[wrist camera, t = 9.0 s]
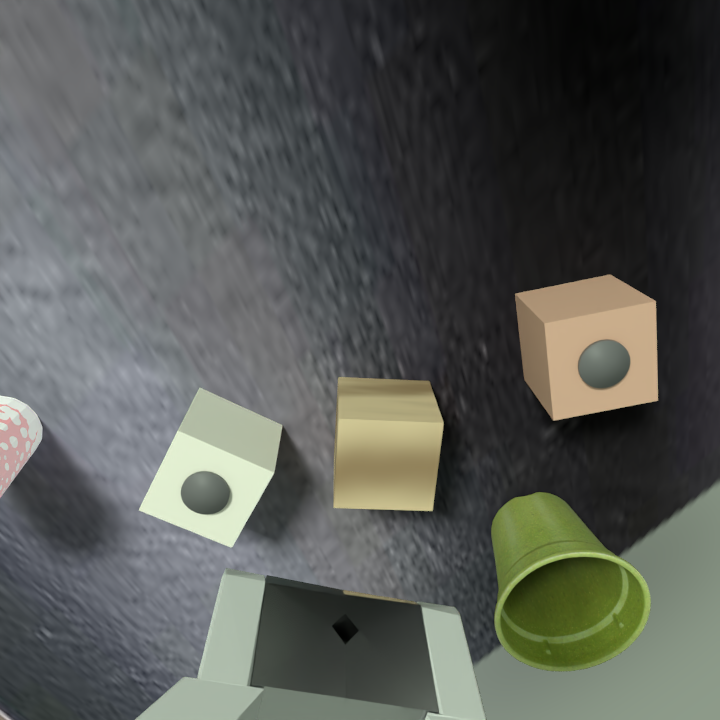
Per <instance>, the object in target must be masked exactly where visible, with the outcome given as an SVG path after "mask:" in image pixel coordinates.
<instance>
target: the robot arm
mask: <svg viewBox="0 0 720 720" xmlns="http://www.w3.org/2000/svg"><path fill="white" fill-rule="evenodd" d="M135 720H487V719H486V715H485V711H484V707H483V703H482V699H481V695H480V691H479V687H478V684H477V680H476V676H475V672H474V668H473V664H472V660H471V656H470V652H469V648H468V644H467V640H466V636H465V632H464V628H463V624H462V621H461V617H460V613H459V612H458V611H457V609H456V608H455V607H451V606H444V605H438V604H431V603H424V602H413V601H407V600H401V599H395V598H389V597H382V596H376V595H370V594H364V593H358V592H352V591H346V590H340V589H335V588H329V587H324V586H319V585H314V584H309V583H304V582H299V581H294V580H289V579H283V578H278V577H273V576H268V575H267V576H266V579H265V576H264V575H259V574H254V573H249V572H244V571H238V570H233V569H228V568H226V570H225V572H224V574H223V576H222V580H221V584H220V588H219V592H218V596H217V600H216V604H215V608H214V612H213V616H212V620H211V624H210V628H209V633H208V637H207V641H206V645H205V649H204V653H203V657H202V661H201V665H200V669H199V673H198V677H197V679H196V678H188V677H183V678H182V679H181V680H180V681H179V682H177V683H176V684H175V685H174V686H173V687H172V688H171V689H169V690H168V691H167V692H166V693H165V694H164V695H163V696H161V697H160V698H159V699H158V700H157V701H156V702H155V703H153V704H152V705H151V706H150V707H149V708H148V709H147V710H146V711H144V712H143V713H142V714H141V715H140V716H139V717H138V718H136V719H135Z"/></svg>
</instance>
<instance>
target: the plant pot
mask: <svg viewBox="0 0 720 720" xmlns="http://www.w3.org/2000/svg"><path fill="white" fill-rule="evenodd" d="M491 535H492V543H493V550H494V556H495V562H496V570H497V578H498V587H499V592H498V598H497V604H496V608H495V615H494V623H495V629H496V633H497V636H498V639H499V641H500V643H501V644H502V646H503V647H504V648H505V650H506V651H507V652H508V653H509V654H510V655H512V656H513V657H514V658H516V659H517V660H519V661H520V662H523V663H525V664H527V665H529V666H532V667H535V668H538V669H542V670H547V671H575V670H581V669H587V668H590V667H593V666H596V665H599V664H601V663H603V662H606V661H608V660H610V659H612V658H613V657H615V656H617V655H618V654H620V653H621V652H623V651H624V650H626V649H627V648H628V647H629V646H630V645H631V644H632V643H633V642H634V641H635V640H636V639H637V637H638V636H639V635H640V634H641V632H642V631H643V629H644V626H645V624H646V622H647V620H648V616H649V613H650V606H651V599H650V593H649V589H648V586H647V583H646V581H645V580H644V578H643V577H642V576H641V574H640V573H639V572H638V571H637V570H636V569H635V568H634V567H633V566H632V565H631V564H630V563H628V562H627V561H625V560H624V559H622V558H620V557H618V556H616V555H615V554H613V553H612V552H611V551H609V550H607V549H606V548H605V547H604V546H603V545H602V544H601V542H600V541H599V540H598V539H597V538H596V537H595V536H594V535H593V533H592V532H591V531H590V530H589V529H588V528H587V526H586V525H585V524H584V523H583V522H582V520H581V519H580V518H579V517H578V516H577V515H576V513H575V512H574V511H573V510H572V509H571V507H570V506H569V505H568V504H567V503H566V502H565V501H564V500H562V499H561V498H559V497H557V496H555V495H552V494H549V493H542V492H536V493H534V494H531V495H528V496H523V497H516V498H514V499H512V500H510V501H509V502H507V503H506V504H505V505H504V506H503V507H502V508H501V509H500V510H499V511H498V513H497V514H496V516H495V518H494V520H493V523H492V528H491Z"/></svg>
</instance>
